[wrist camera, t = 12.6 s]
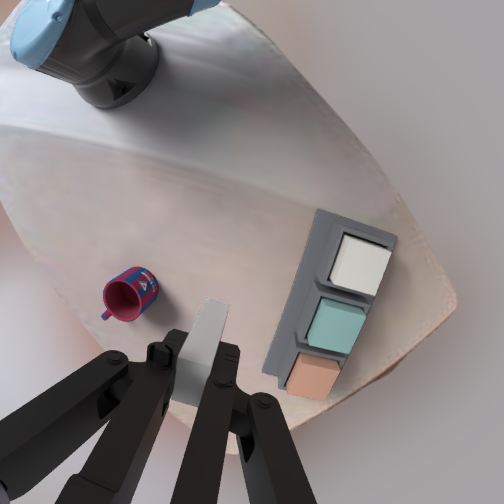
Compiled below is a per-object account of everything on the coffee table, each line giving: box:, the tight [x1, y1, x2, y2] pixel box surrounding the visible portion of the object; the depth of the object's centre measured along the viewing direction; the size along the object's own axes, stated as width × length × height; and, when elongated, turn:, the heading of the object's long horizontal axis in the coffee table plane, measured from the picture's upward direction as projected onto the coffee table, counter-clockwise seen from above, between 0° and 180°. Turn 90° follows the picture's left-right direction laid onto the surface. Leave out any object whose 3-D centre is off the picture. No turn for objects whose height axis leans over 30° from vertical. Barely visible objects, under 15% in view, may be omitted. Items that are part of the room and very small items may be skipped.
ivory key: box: [328, 233, 391, 296], centre depth 37 cm, size 6×6×5 cm
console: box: [262, 208, 397, 390], centre depth 42 cm, size 28×13×6 cm, turn 164°
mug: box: [101, 267, 158, 322], centre depth 43 cm, size 7×10×7 cm
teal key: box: [307, 296, 366, 354], centre depth 39 cm, size 6×6×5 cm
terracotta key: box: [286, 352, 340, 401], centre depth 41 cm, size 6×6×5 cm
